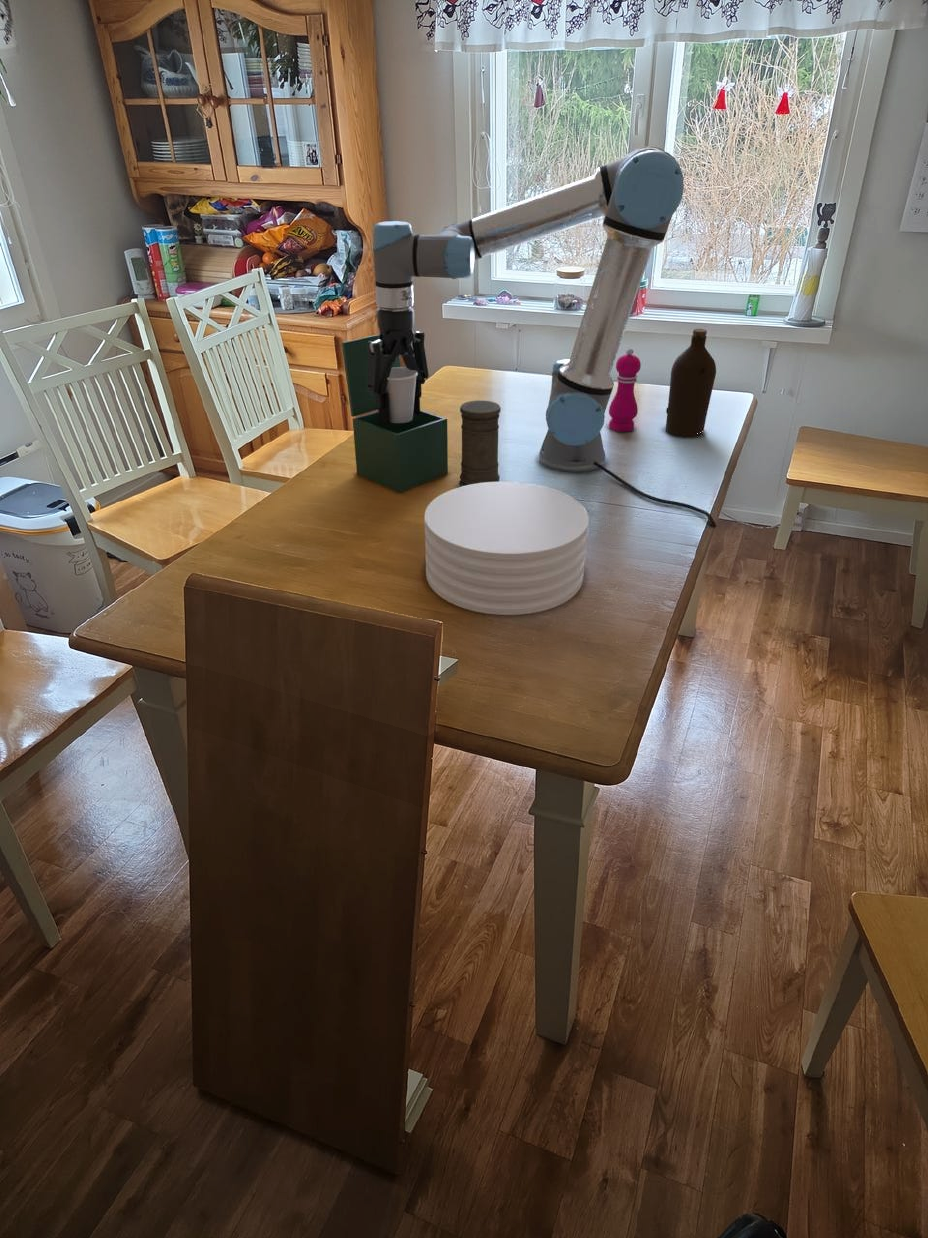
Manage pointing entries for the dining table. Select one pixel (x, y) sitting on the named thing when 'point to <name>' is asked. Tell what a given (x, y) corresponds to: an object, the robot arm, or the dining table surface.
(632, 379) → the pepper mill
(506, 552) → the plate stack
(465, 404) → the container
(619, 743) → the dining table surface
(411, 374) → the dixie cup
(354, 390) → the lid
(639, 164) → the robot arm
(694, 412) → the olive oil
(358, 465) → the chest
